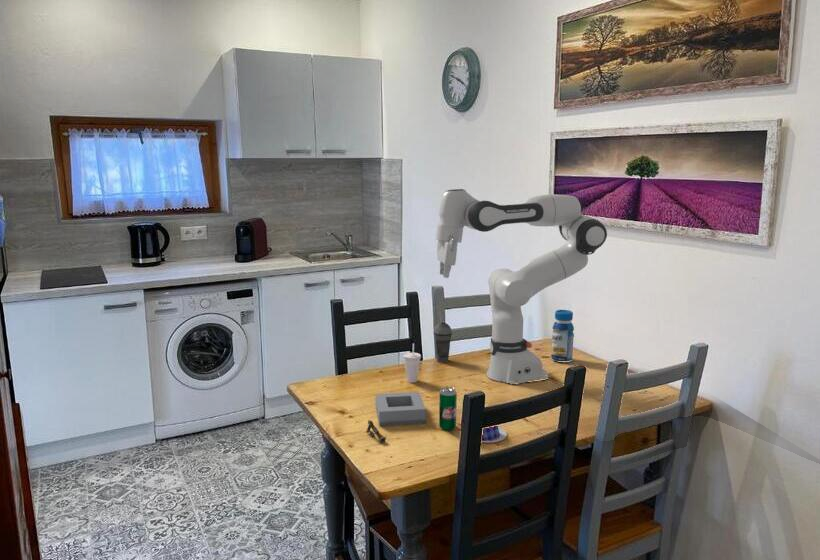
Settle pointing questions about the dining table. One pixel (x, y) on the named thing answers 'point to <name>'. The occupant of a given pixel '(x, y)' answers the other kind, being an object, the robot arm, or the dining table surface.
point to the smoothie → (412, 365)
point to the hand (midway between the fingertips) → (443, 276)
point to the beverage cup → (442, 341)
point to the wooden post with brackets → (375, 432)
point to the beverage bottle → (562, 336)
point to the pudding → (493, 434)
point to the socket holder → (400, 408)
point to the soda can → (447, 408)
